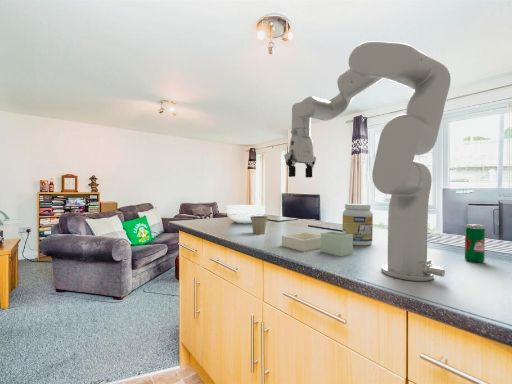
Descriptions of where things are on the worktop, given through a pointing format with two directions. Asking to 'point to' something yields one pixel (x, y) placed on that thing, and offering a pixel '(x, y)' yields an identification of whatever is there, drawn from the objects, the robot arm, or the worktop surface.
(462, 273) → the worktop surface
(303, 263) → the worktop surface
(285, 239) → the tray
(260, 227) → the flower pot
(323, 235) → the block
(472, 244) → the soda can
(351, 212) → the supplement tub
